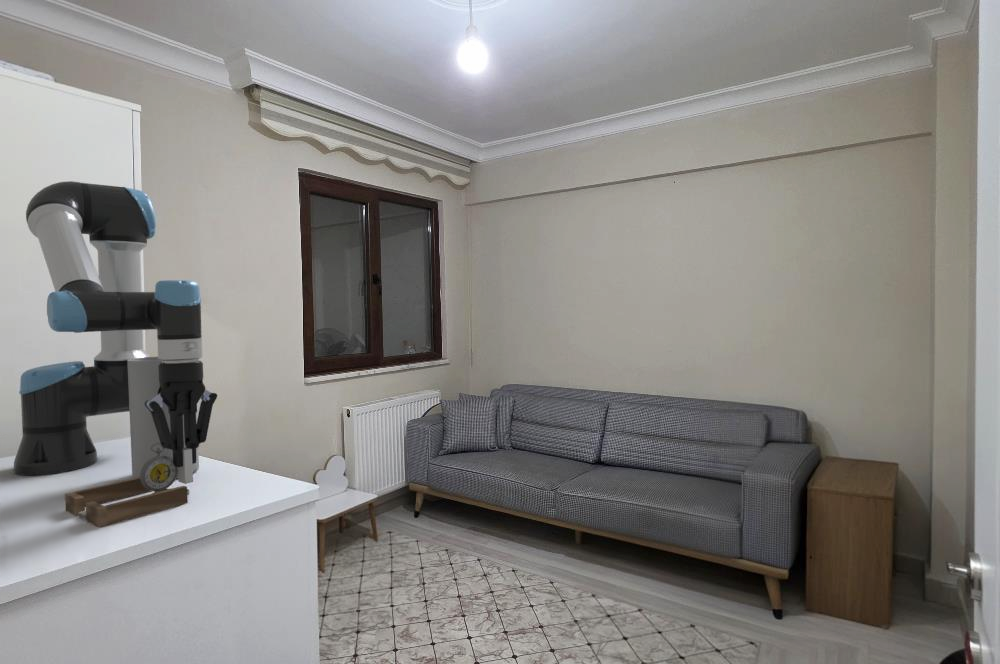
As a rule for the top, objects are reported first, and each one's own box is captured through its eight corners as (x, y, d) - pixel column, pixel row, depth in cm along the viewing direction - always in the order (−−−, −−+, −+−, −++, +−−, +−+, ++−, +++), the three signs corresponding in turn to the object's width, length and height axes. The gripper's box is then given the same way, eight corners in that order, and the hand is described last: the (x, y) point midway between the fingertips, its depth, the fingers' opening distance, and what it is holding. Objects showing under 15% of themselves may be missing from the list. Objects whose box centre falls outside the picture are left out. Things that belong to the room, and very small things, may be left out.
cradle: (65, 510, 104) (64, 493, 104) (150, 489, 115) (150, 474, 115) (99, 527, 95) (98, 509, 95) (187, 502, 107) (187, 486, 107)
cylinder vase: (118, 479, 123) (113, 360, 122) (171, 463, 134) (167, 355, 133) (160, 485, 118) (155, 361, 117) (212, 469, 130) (208, 356, 128)
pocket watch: (176, 504, 106) (174, 449, 106) (131, 504, 106) (128, 450, 106) (200, 490, 114) (198, 439, 114) (158, 490, 115) (156, 439, 114)
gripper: (154, 365, 105) (160, 494, 106) (223, 358, 116) (228, 476, 117) (135, 363, 110) (140, 487, 111) (203, 357, 120) (208, 470, 121)
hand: (185, 481), depth 114 cm, fingers closed
